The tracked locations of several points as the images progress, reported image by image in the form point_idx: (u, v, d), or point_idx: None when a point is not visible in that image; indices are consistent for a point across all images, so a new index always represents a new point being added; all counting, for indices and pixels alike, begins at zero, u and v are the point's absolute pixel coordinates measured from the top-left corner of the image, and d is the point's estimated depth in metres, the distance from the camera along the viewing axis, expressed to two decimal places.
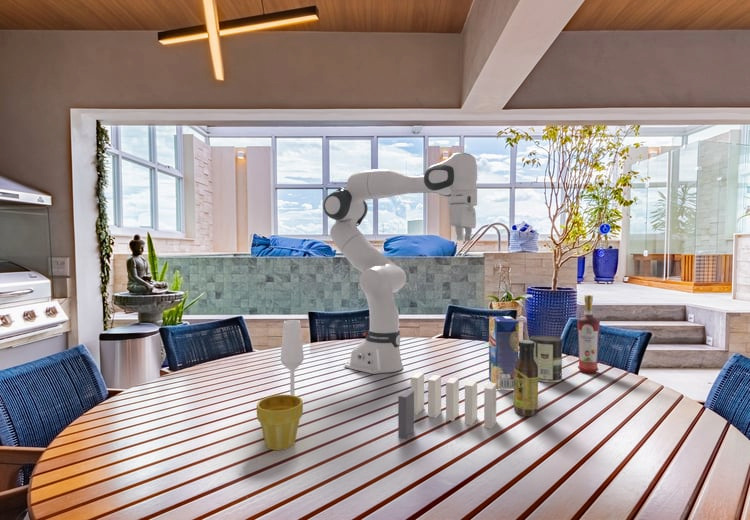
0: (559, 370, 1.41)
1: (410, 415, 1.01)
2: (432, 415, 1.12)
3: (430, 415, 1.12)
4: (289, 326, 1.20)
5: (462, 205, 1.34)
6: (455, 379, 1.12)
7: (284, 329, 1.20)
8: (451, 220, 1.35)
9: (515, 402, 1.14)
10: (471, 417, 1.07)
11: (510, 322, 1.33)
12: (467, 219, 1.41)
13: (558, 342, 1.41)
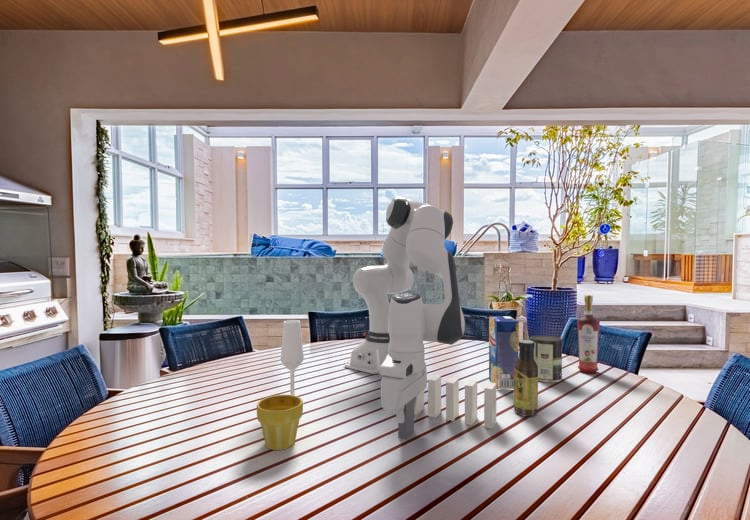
0: (559, 370, 1.41)
1: (410, 415, 1.01)
2: (432, 415, 1.12)
3: (430, 415, 1.12)
4: (289, 326, 1.20)
5: (398, 382, 0.92)
6: (455, 379, 1.12)
7: (284, 329, 1.20)
8: (383, 403, 0.93)
9: (515, 402, 1.14)
10: (471, 417, 1.07)
11: (510, 322, 1.33)
12: (409, 391, 0.99)
13: (558, 342, 1.41)
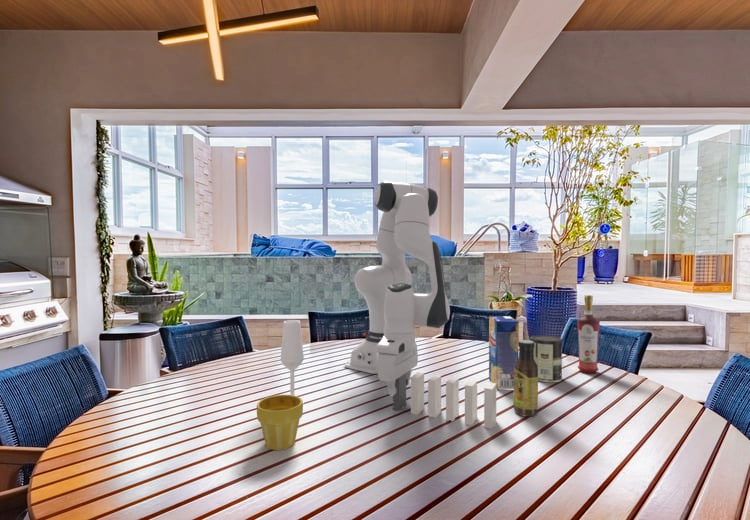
0: (559, 370, 1.41)
1: (403, 391, 1.18)
2: (432, 415, 1.12)
3: (430, 415, 1.12)
4: (289, 326, 1.20)
5: (392, 358, 1.10)
6: (455, 379, 1.12)
7: (284, 329, 1.20)
8: (379, 375, 1.10)
9: (515, 402, 1.14)
10: (471, 417, 1.07)
11: (510, 322, 1.33)
12: (402, 367, 1.16)
13: (558, 342, 1.41)
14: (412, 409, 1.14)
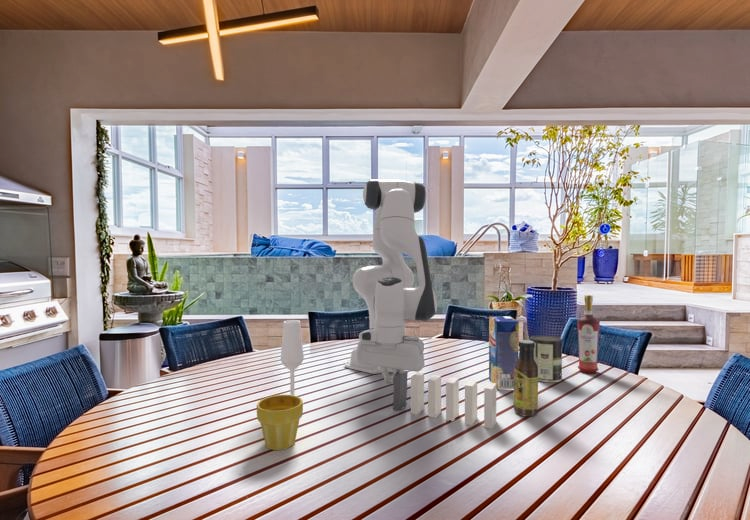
0: (559, 370, 1.41)
1: (403, 391, 1.18)
2: (432, 415, 1.12)
3: (430, 415, 1.12)
4: (289, 326, 1.20)
5: (359, 342, 1.22)
6: (455, 379, 1.12)
7: (284, 329, 1.20)
8: None
9: (515, 402, 1.14)
10: (471, 417, 1.07)
11: (510, 322, 1.33)
12: (380, 358, 1.19)
13: (558, 342, 1.41)
14: (412, 409, 1.14)
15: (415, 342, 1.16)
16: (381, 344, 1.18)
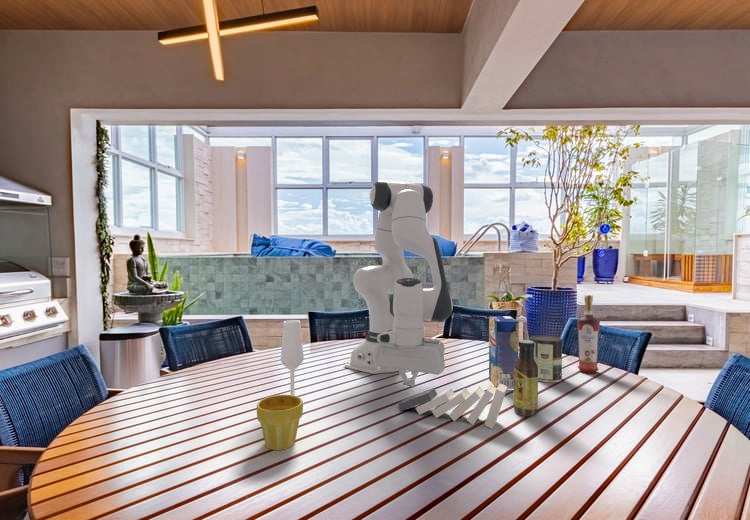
0: (559, 370, 1.41)
1: None
2: (436, 414, 1.11)
3: (434, 413, 1.11)
4: (289, 326, 1.20)
5: (377, 344, 1.19)
6: (482, 392, 1.09)
7: (284, 329, 1.20)
8: None
9: (515, 402, 1.14)
10: (476, 418, 1.06)
11: (510, 322, 1.33)
12: (399, 360, 1.16)
13: (558, 342, 1.41)
14: (419, 408, 1.13)
15: (435, 344, 1.13)
16: (400, 346, 1.15)
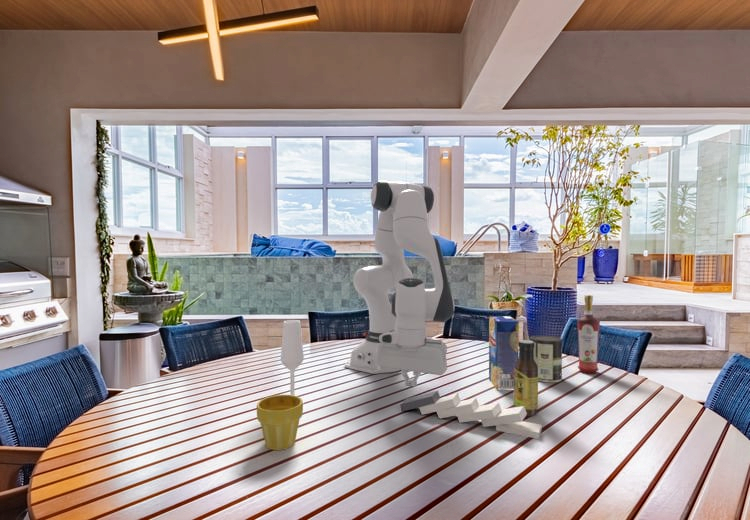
0: (559, 370, 1.41)
1: None
2: (439, 415, 1.11)
3: (438, 413, 1.11)
4: (289, 326, 1.20)
5: (379, 344, 1.19)
6: (498, 410, 1.05)
7: (284, 329, 1.20)
8: None
9: (515, 402, 1.14)
10: (490, 424, 1.04)
11: (510, 322, 1.33)
12: (401, 361, 1.16)
13: (558, 342, 1.41)
14: (423, 408, 1.13)
15: (437, 345, 1.13)
16: (402, 347, 1.15)
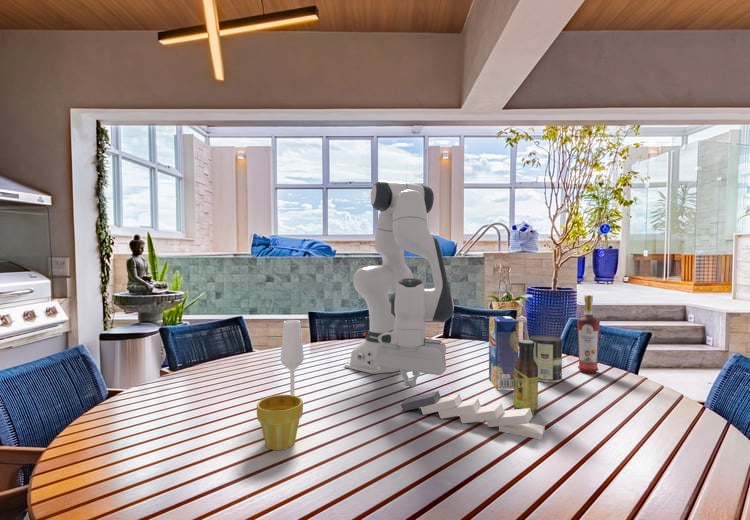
0: (559, 370, 1.41)
1: None
2: (441, 415, 1.11)
3: (440, 413, 1.11)
4: (289, 326, 1.20)
5: None
6: (501, 411, 1.04)
7: (284, 329, 1.20)
8: None
9: (515, 402, 1.14)
10: (495, 425, 1.03)
11: (510, 322, 1.33)
12: (400, 361, 1.16)
13: (558, 342, 1.41)
14: (425, 408, 1.13)
15: (437, 345, 1.13)
16: (402, 347, 1.15)
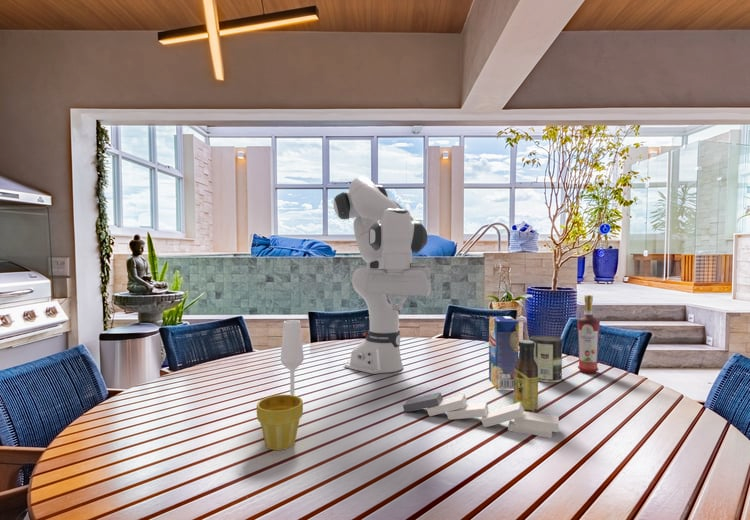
0: (559, 370, 1.41)
1: None
2: (449, 416, 1.10)
3: (448, 414, 1.10)
4: (289, 326, 1.20)
5: None
6: (522, 409, 1.05)
7: (284, 329, 1.20)
8: None
9: (515, 402, 1.14)
10: (522, 425, 1.03)
11: (510, 322, 1.33)
12: (388, 286, 1.22)
13: (558, 342, 1.41)
14: (431, 410, 1.12)
15: (422, 268, 1.19)
16: (389, 271, 1.21)
